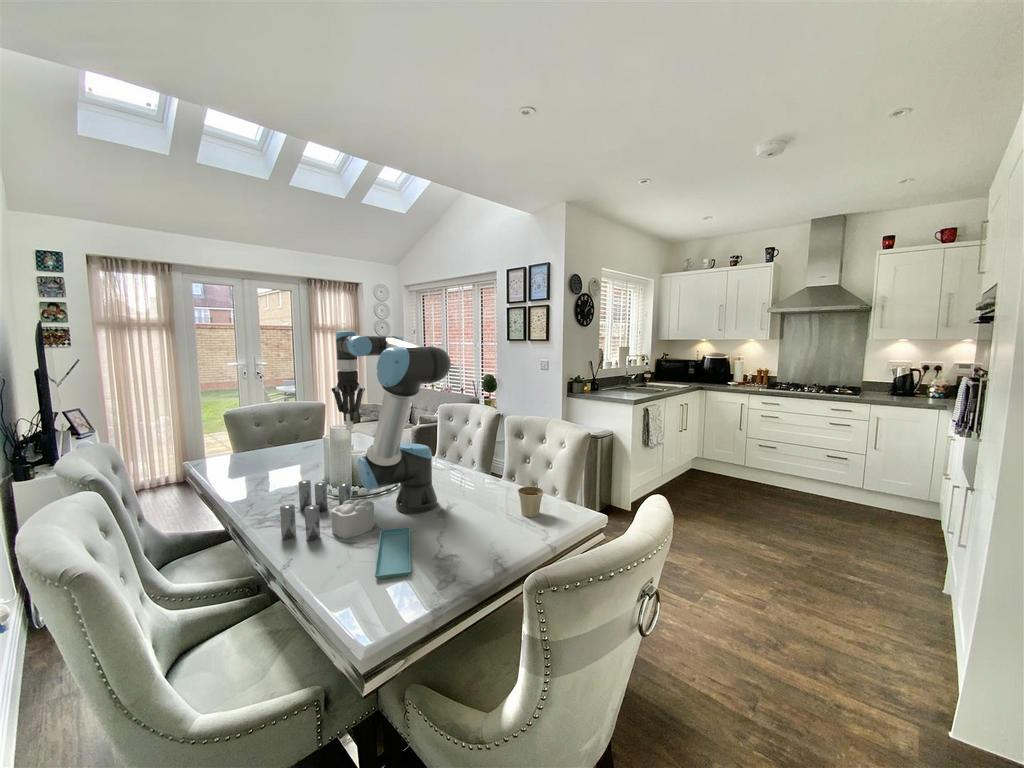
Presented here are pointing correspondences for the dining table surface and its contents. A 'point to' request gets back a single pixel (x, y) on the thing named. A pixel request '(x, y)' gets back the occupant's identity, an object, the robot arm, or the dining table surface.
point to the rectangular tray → (393, 554)
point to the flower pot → (530, 500)
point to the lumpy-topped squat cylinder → (352, 518)
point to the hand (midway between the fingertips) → (349, 429)
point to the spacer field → (310, 509)
